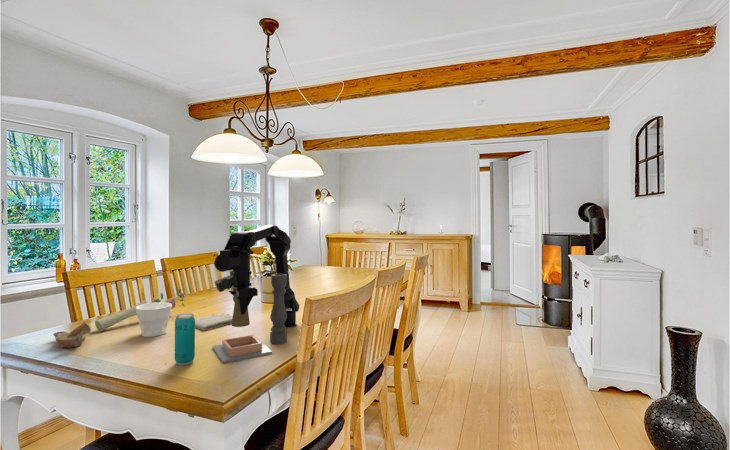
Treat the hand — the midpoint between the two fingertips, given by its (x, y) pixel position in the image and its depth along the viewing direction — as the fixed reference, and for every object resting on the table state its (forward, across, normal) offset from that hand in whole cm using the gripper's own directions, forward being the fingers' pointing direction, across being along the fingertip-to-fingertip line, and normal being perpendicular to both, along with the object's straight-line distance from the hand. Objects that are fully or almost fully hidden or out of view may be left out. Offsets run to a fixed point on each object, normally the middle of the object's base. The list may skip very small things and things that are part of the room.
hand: (241, 312), depth 128 cm
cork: (+4, 0, 0) cm, 4 cm away
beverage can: (+13, +2, -18) cm, 22 cm away
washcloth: (+14, -38, -1) cm, 41 cm away
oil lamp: (+14, -36, -50) cm, 63 cm away
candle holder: (+13, -2, +14) cm, 20 cm away
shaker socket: (+13, +1, 0) cm, 13 cm away
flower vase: (+13, -57, -27) cm, 64 cm away
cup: (+13, -36, -24) cm, 45 cm away
